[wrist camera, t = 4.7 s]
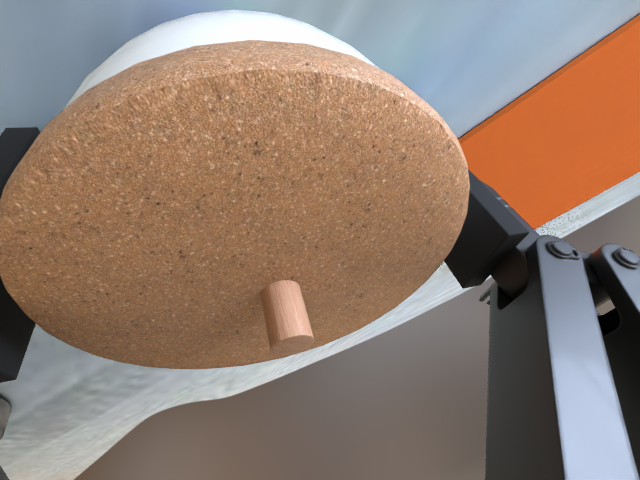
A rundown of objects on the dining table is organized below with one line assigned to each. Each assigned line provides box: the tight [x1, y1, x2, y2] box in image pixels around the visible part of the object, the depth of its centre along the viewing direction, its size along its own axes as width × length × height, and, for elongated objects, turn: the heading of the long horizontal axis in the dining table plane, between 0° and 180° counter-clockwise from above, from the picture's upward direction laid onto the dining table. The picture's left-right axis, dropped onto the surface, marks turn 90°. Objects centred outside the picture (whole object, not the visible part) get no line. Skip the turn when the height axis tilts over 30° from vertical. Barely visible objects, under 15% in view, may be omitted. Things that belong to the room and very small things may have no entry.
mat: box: [458, 14, 640, 229], centre depth 20 cm, size 20×15×1 cm
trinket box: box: [0, 9, 470, 369], centre depth 10 cm, size 11×11×9 cm
